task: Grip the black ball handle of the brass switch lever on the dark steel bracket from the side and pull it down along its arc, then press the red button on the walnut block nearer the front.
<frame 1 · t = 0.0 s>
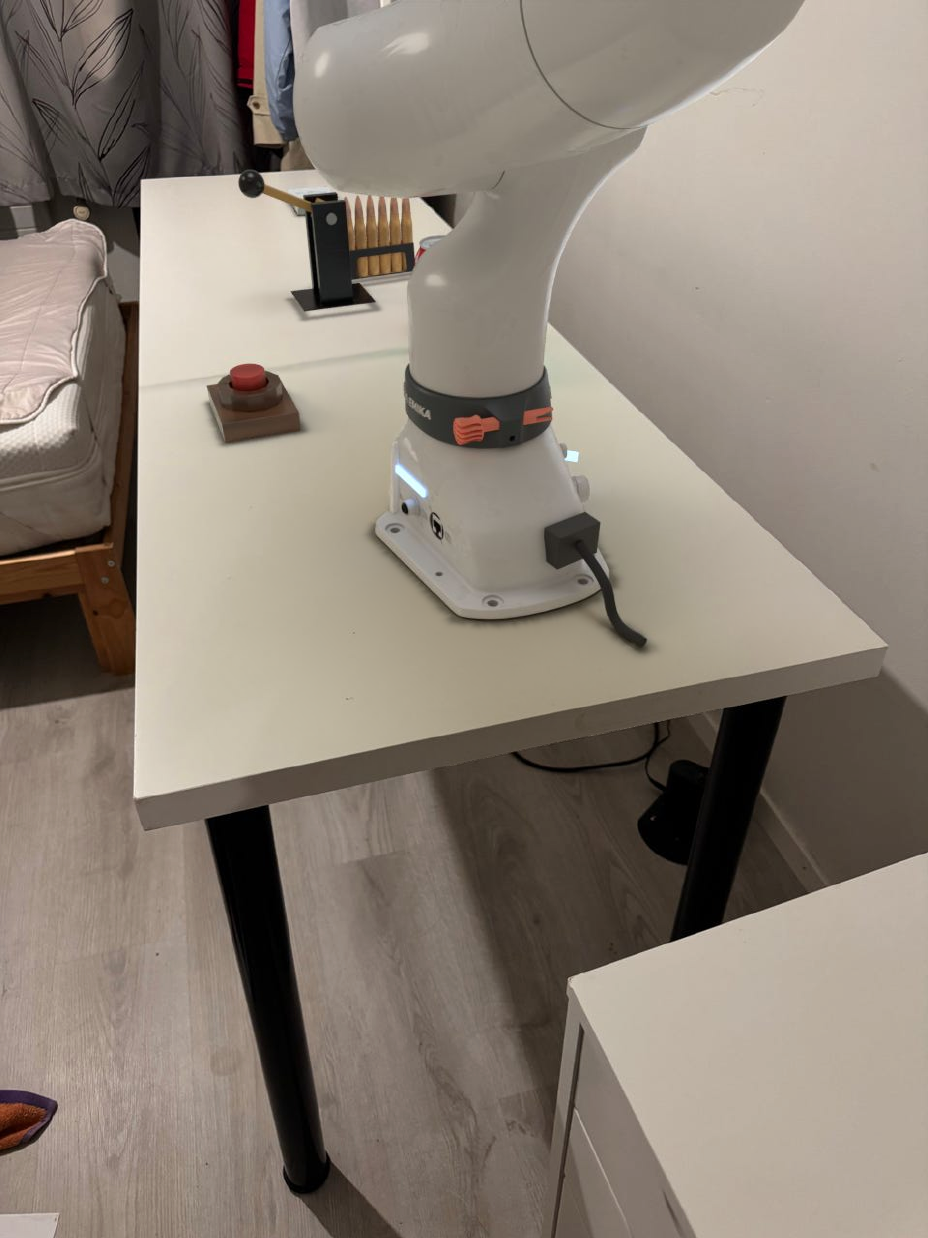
bracket: (333, 304, 124), on the table
lever: (288, 198, 114), point 14 cm above the table, hinge at 25.0°
hard drive: (315, 206, 163), on the table
ammunition clip: (380, 282, 132), on the table
button: (248, 377, 95), point 4 cm above the table, slide at 0.1 cm
button block: (254, 416, 98), on the table
soda can: (443, 340, 115), on the table
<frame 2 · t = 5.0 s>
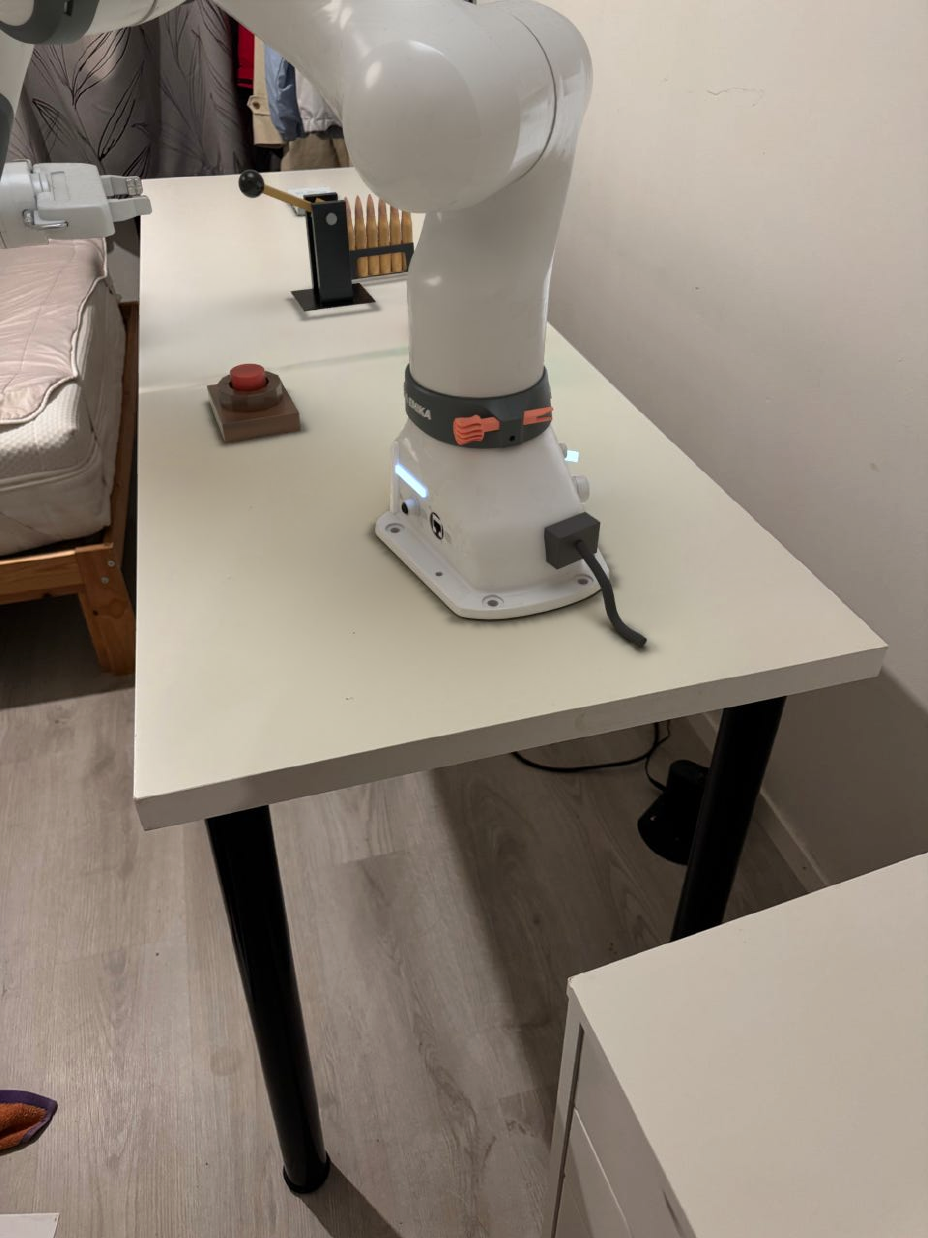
hand: (146, 194, 108), 16 cm above the table, tool horizontal, fingers open, 8 cm apart
nothing on the table moved.
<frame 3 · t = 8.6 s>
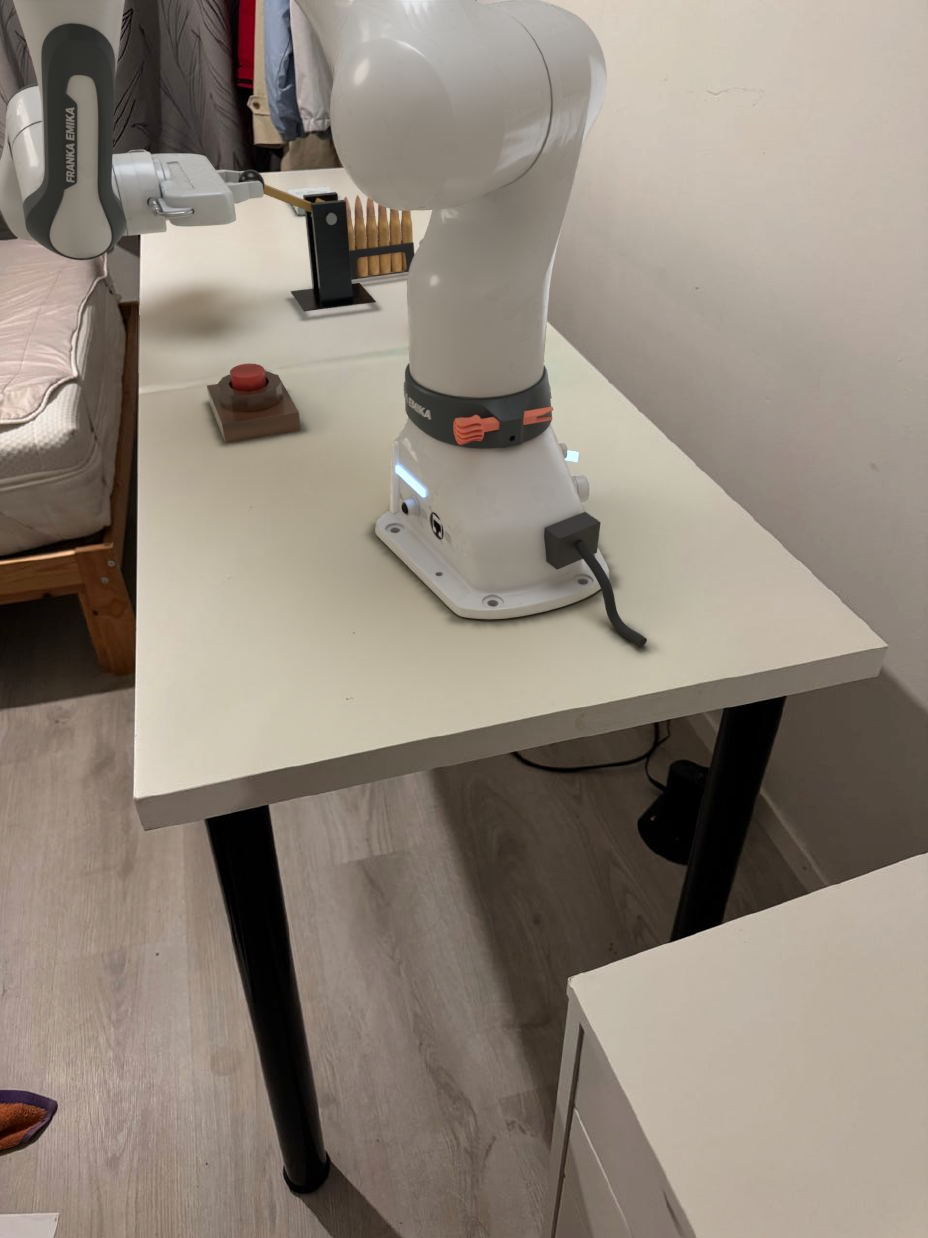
hand: (258, 183, 112), 16 cm above the table, tool horizontal, fingers closed on lever, 3 cm apart
lever: (288, 198, 114), point 14 cm above the table, hinge at 25.0°, touching gripper
everything else where it was.
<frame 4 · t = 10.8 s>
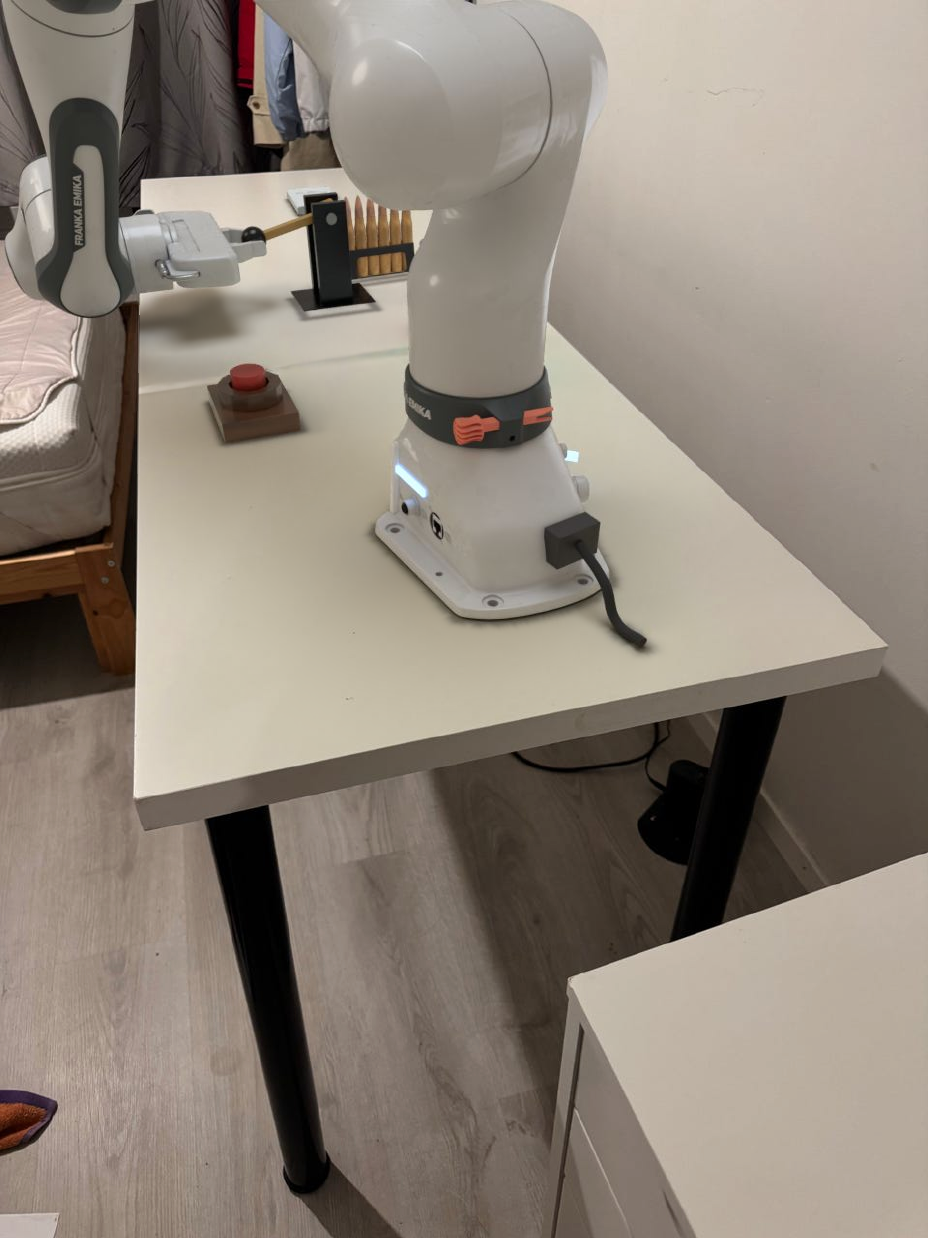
hand: (261, 241, 116), 9 cm above the table, tool horizontal, fingers closed on lever, 3 cm apart
lever: (289, 226, 116), point 11 cm above the table, hinge at -13.7°, touching gripper
everything else where it was.
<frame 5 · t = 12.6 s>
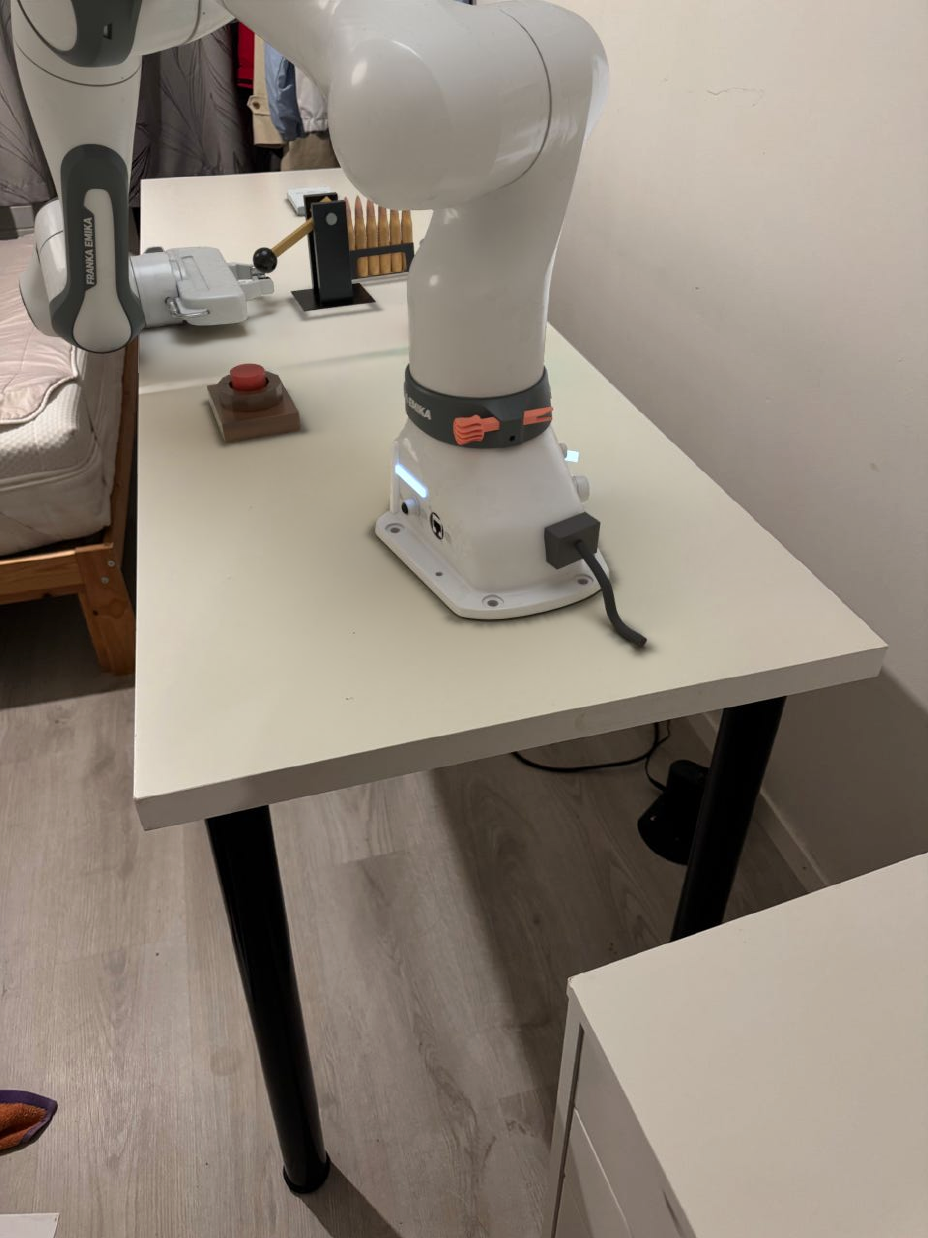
hand: (268, 277, 119), 5 cm above the table, tool horizontal, fingers open, 4 cm apart
lever: (294, 237, 117), point 9 cm above the table, hinge at -30.5°
everything else where it was.
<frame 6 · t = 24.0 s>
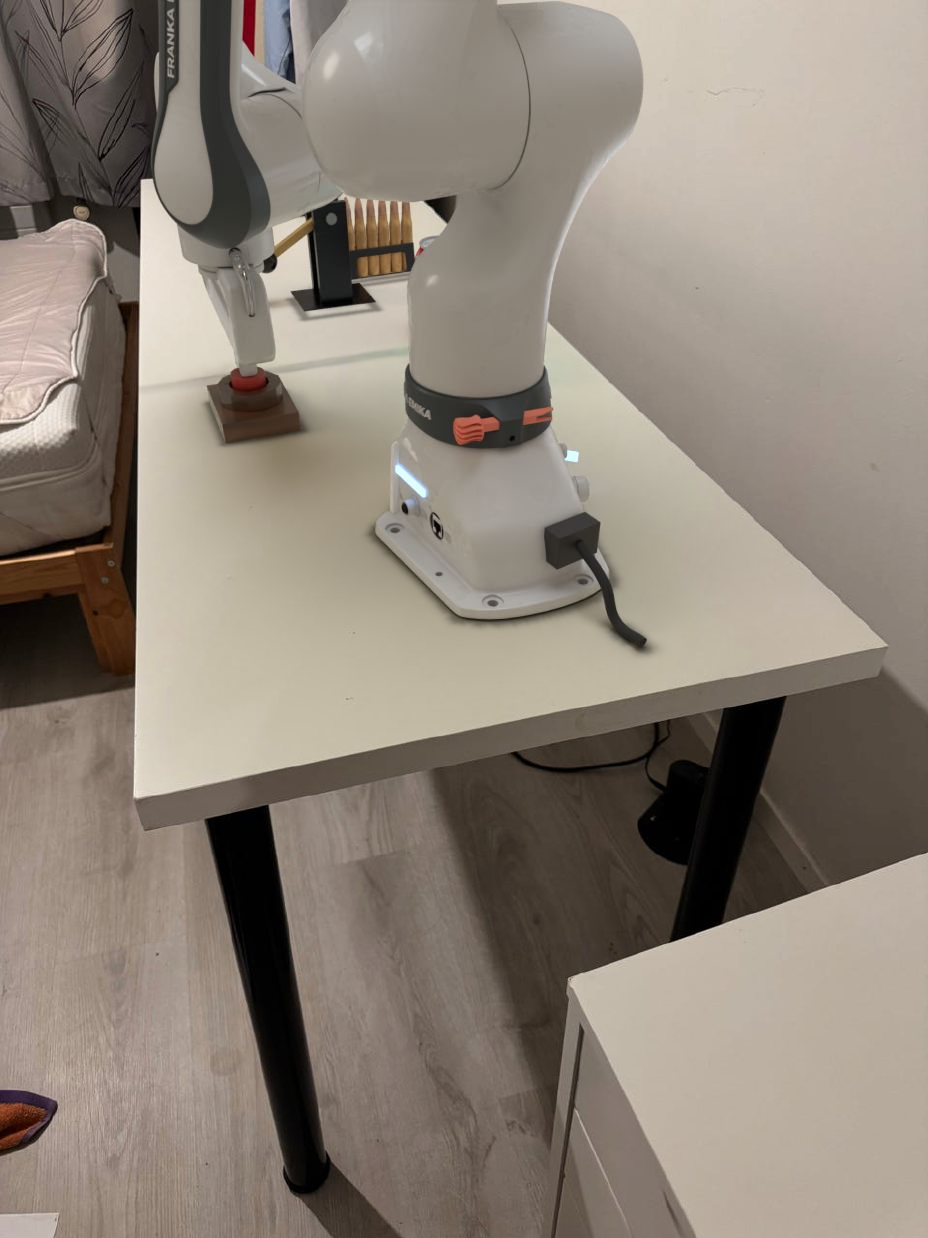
hand: (247, 370, 95), 5 cm above the table, tool pointing down, fingers closed, pressing on button
button: (248, 380, 95), point 4 cm above the table, slide at -0.1 cm, touching gripper
everything else where it was.
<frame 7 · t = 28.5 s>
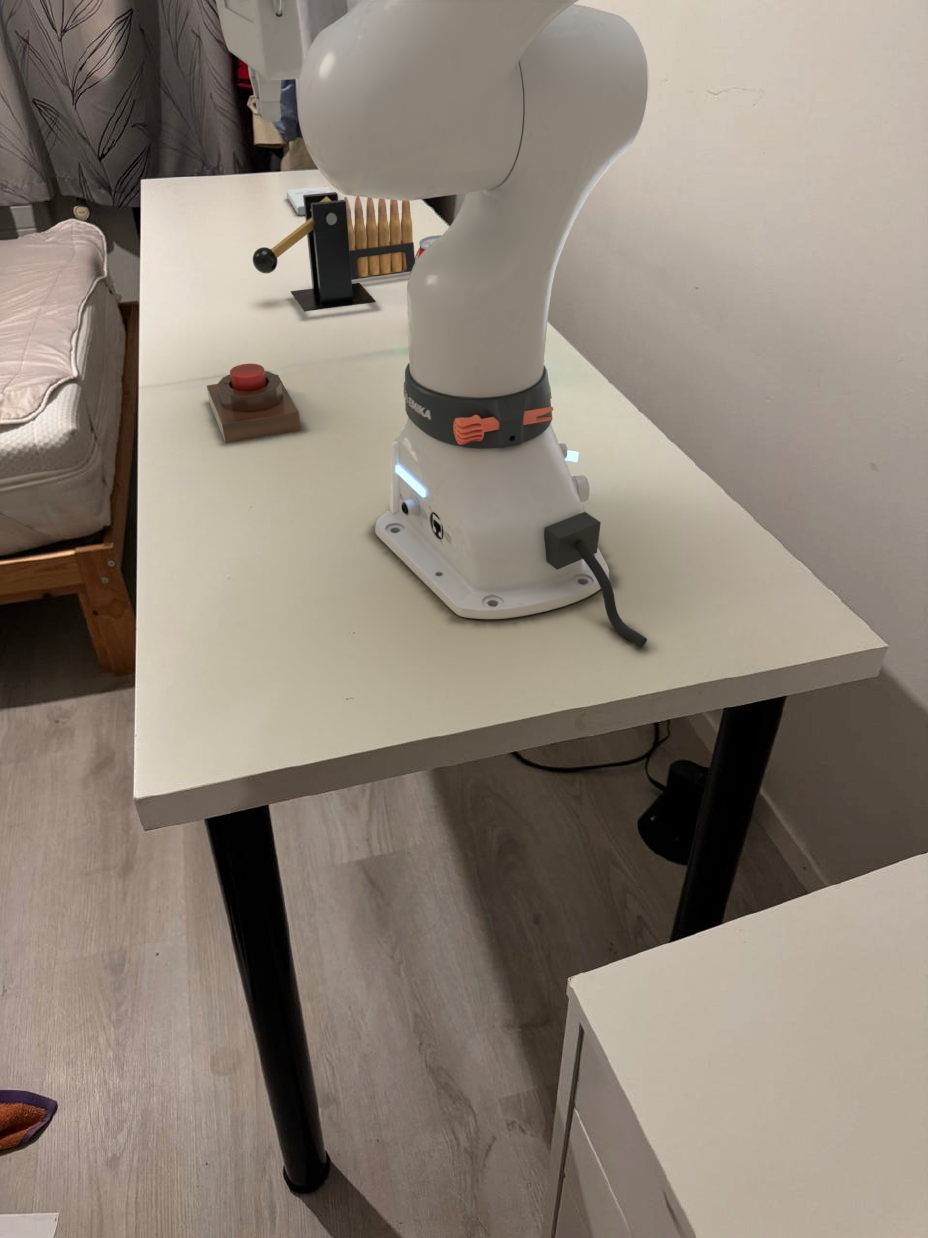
hand: (269, 119, 88), 27 cm above the table, tool pointing down, fingers closed
button: (248, 378, 95), point 4 cm above the table, slide at 0.1 cm
everything else where it was.
at the end: lever at -30° (first picture: +25°); button pushed in 1.1 cm at the most during the clip, back to where it started at the end; button slide at 0.1 cm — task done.
